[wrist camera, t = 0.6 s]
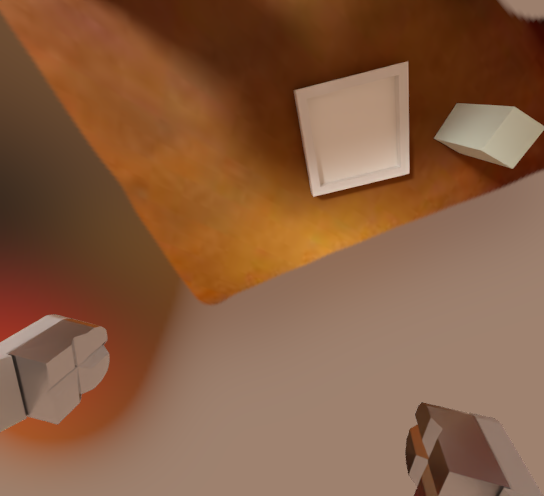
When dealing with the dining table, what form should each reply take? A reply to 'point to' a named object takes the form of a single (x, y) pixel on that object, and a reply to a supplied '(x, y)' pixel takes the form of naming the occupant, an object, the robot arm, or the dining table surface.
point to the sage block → (489, 132)
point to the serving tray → (355, 128)
